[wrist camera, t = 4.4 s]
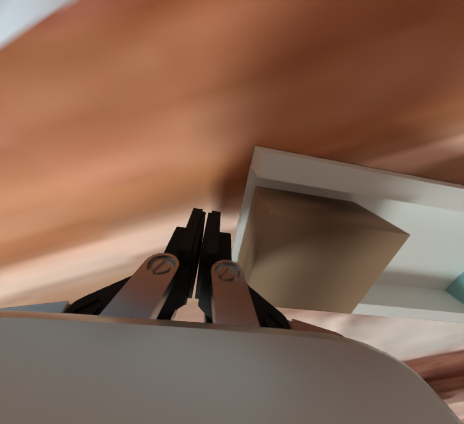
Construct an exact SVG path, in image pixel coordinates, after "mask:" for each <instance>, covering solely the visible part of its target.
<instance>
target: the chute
mask: <svg viewBox="0 0 464 424" xmlns="http://www.w3.org/2000/svg"><path fill="white" fill-rule="evenodd" d="M255 186H260V187H266V188H272V189H279V190H285V191H291V192H297V193H303V194H309V195H315V196H321V197H327V198H334V199H340V200H346V201H352V202H355V203H357V204H359V205H361V206H362V207H364V208H366V209H367V210H369V211H371V212H373V213H374V214H376V215H378V216H379V217H381V218H383V219H384V220H386V221H388V222H390V223H391V224H393V225H395V226H396V227H398V228H400V229H402V230H403V231H405V232H407V233H408V234H410V236H409V238H408V239H407V240H406V242H405V243H404V244H403V246H402V247H401V248H400V250H399V251H398V252H397V254H396V255H395V256H394V258H393V259H392V260H391V261H390V263H389V264H388V265H387V267H386V268H385V269H384V271H383V272H382V273H381V275H380V276H379V277H378V279H377V280H376V281H375V283H374V284H373V285H372V287H371V288H370V289H369V290H368V292H367V293H366V294H365V296H364V297H363V298H362V300H361V301H360V302H359V304H358V305H357V306H356V308H355V309H354V310H353V312H352V313H353V314H364V315H375V316H387V317H398V318H410V319H421V320H433V321H444V322H456V323H464V185H460V184H455V183H450V182H445V181H439V180H434V179H429V178H423V177H418V176H413V175H408V174H402V173H397V172H392V171H386V170H381V169H376V168H371V167H365V166H360V165H355V164H349V163H344V162H339V161H334V160H328V159H323V158H318V157H312V156H307V155H302V154H297V153H291V152H286V151H281V150H276V149H270V148H265V147H260V146H254V151H253V155H252V160H251V164H250V169H249V173H248V178H247V182H246V187H245V191H244V196H243V201H242V205H241V210H240V214H239V219H238V223H237V228H236V232H235V237H234V241H233V246H232V250H231V252H232V261H233V262H235V263H237V264H238V255H239V251H240V247H241V243H242V238H243V234H244V230H245V226H246V222H247V218H248V214H249V210H250V206H251V202H252V198H253V194H254V190H255Z"/></svg>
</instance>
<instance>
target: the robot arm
mask: <svg viewBox="0 0 464 424" xmlns="http://www.w3.org/2000/svg"><path fill="white" fill-rule="evenodd" d="M205 215H206V212H203V209H197V208H194V209H193V211H192V214H191V216H190V219H189V221H188V224H187V226H186V228H184V227H176V229H175V231H174V233H173V235H172V237H171V239H170V241H169V243H168V245H167V247H166V250H165V252H164V253H158V254H155V255H152V256H151V257H149V258H148V259H146V260H145V261H144V263H143V264H142V265H141V266H140V267H139V269H138V270H137V271H136V272H135V273H134V274H133V275H132V276H130V277H128V278H125V279H123V280H121V281H119V282H116V283H114V284H112V285H110V286H107V287H105V288H103V289H100V290H98V291H96V292H94V293H91V294H89V295H87V296H85V297H83V298H81V299H79V300H77V301H75V302H74V303H73V304H69V301H63V302H54V303H45V304H36V305H27V306H17V307H8V308H1V309H0V424H463V423H462V422H461V421H460V419H459V418H458V417H457V416H456V415H455V414H454V412H453V411H452V410H451V409H450V408H449V407H448V405H447V404H446V403H445V402H444V401H443V400H442V399H441V398H440V396H439V395H438V394H437V393H436V392H435V391H434V390H433V389H432V388H431V387H430V386H429V385H428V384H427V383H426V382H425V381H424V380H423V379H422V378H421V377H420V376H419V375H418V374H417V373H416V372H415V371H413V370H412V369H411V368H410V367H408V366H407V365H406V364H404V363H403V362H401V361H399V360H398V359H396V358H394V357H393V356H391V355H389V354H387V353H385V352H383V351H381V350H378V349H376V348H374V347H372V346H370V345H368V344H365V343H362V342H359V341H356V340H353V339H349V338H345V337H344V336H342V335H341V334H338V333H336V332H333V331H330V330H327V329H324V328H321V327H317V326H314V325H311V324H308V323H305V322H301V321H298V320H295V319H292V320H291V321H289V320H287V319H286V317H285V316H284V315H283V314H282V313H281V312H279V311H278V310H277V309H276V308H275V307H274V306H272V305H271V304H270V303H269V302H268V301H266V300H265V299H264V298H263V297H262V296H261V295H259V294H258V293H257V292H256V291H255V290H253V289H252V288H251V287H250V286H249V285H248V284H247V282H246V279H245V276H244V273H243V270H242V268H241V267H240V266H239V265H238V264H237V263H235V262H233V261H232V252H231V234H230V233H223V232H220V216H221V212H218V211H212V213H209V212H208V217H207V222H206V227H205V232H204V223H205ZM203 232H204V237H203ZM202 240H203V242H202ZM199 259H200V260H199ZM198 264H199V268H198ZM197 269H198V277H197V285H196V294H195V298H196V299H199V302H198V306H199V307H200V309H201V310H202V311H203V312H204V323H200V322H186V321H174V318H175V316H176V312H177V309H179V308H180V307H182V306H183V305H186V303H187V299H188V298H192V294H193V289H194V284H195V279H196V274H197Z"/></svg>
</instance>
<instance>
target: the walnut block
mask: <svg viewBox="0 0 464 424" xmlns="http://www.w3.org/2000/svg"><path fill="white" fill-rule="evenodd" d="M409 236H410V234H408V233H407V232H405V231H403V230H402V229H400V228H398V227H396V226H395V225H393V224H391V223H390V222H388V221H386V220H384V219H383V218H381V217H379V216H378V215H376V214H374V213H373V212H371V211H369V210H367V209H366V208H364V207H362V206H361V205H359V204H357V203H355V202H352V201H346V200H340V199H334V198H327V197H321V196H315V195H309V194H303V193H297V192H291V191H285V190H279V189H272V188H266V187H260V186H255V190H254V194H253V198H252V202H251V206H250V210H249V214H248V218H247V222H246V226H245V230H244V234H243V238H242V243H241V247H240V251H239V255H238V265H239V266H240V267H241V268H242V270H243V273H244V276H245V279H246V282H247V284H248V285H249V286H250V287H251V288H252V289H253V290H255V291H256V292H257V293H258V294H259V295H261V296H262V297H263V298H264V299H265V300H266V301H268V302H269V303H270V304H271V305H272V306H274V307H280V308H292V309H303V310H315V311H326V312H338V313H349V314H351V313H352V312H353V310H354V309H355V308H356V306H357V305H358V304H359V302H360V301H361V300H362V298H363V297H364V296H365V294H366V293H367V292H368V290H369V289H370V288H371V287H372V285H373V284H374V283H375V281H376V280H377V279H378V277H379V276H380V275H381V273H382V272H383V271H384V269H385V268H386V267H387V265H388V264H389V263H390V261H391V260H392V259H393V258H394V256H395V255H396V254H397V252H398V251H399V250H400V248H401V247H402V246H403V244H404V243H405V242H406V240H407V239H408V238H409Z"/></svg>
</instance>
